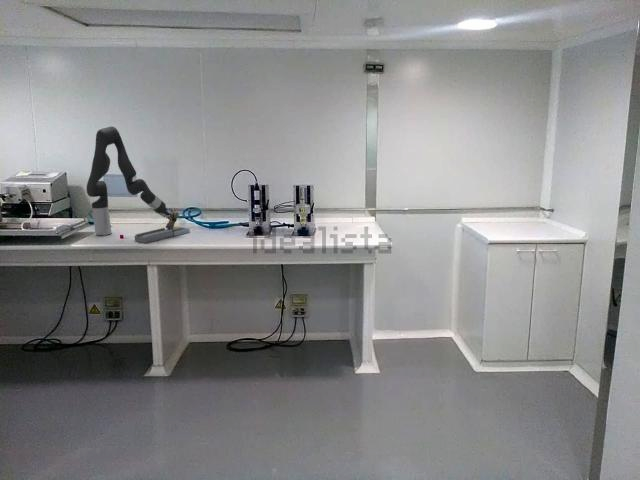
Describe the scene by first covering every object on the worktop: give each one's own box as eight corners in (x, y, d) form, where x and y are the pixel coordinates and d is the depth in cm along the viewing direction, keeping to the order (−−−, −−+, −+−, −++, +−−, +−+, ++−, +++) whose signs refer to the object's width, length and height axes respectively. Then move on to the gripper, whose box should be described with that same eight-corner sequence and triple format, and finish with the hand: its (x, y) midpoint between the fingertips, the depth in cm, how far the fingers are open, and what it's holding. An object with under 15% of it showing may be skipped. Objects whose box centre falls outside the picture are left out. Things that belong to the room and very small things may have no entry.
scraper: (169, 227, 301) (177, 212, 304) (165, 227, 303) (172, 211, 306) (172, 229, 302) (180, 214, 306) (167, 229, 305) (175, 213, 308)
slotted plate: (145, 243, 284) (145, 236, 283) (135, 241, 290) (134, 234, 289) (173, 236, 300) (172, 229, 299) (162, 234, 306) (162, 227, 305)
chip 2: (182, 227, 309) (182, 231, 309) (177, 226, 311) (178, 231, 312) (176, 228, 305) (177, 233, 306) (172, 227, 308) (173, 232, 308)
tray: (174, 236, 300) (174, 232, 300) (162, 234, 306) (162, 230, 306) (189, 232, 310) (189, 228, 309) (178, 230, 316) (177, 226, 315)
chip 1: (173, 227, 303) (177, 226, 305) (168, 226, 305) (172, 226, 307) (173, 234, 304) (177, 233, 306) (169, 233, 306) (173, 232, 308)
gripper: (166, 199, 290) (184, 216, 303) (151, 197, 298) (169, 214, 311) (160, 210, 287) (178, 226, 300) (145, 208, 295) (163, 224, 308)
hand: (174, 220), depth 305 cm, fingers closed on scraper, 2 cm apart
